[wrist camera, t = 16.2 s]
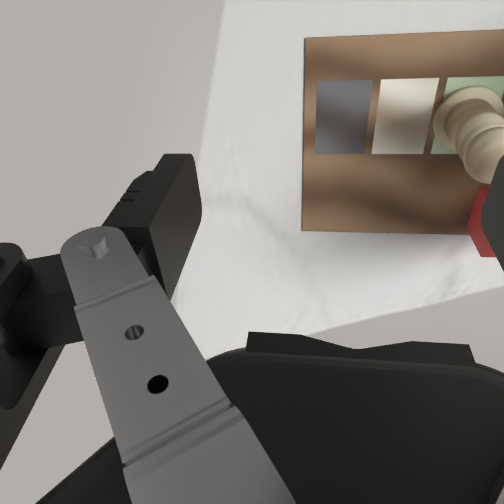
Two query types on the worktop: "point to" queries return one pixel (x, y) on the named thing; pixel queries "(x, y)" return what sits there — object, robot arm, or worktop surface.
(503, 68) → the game board
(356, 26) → the worktop surface
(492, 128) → the birch pawn
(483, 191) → the red die
